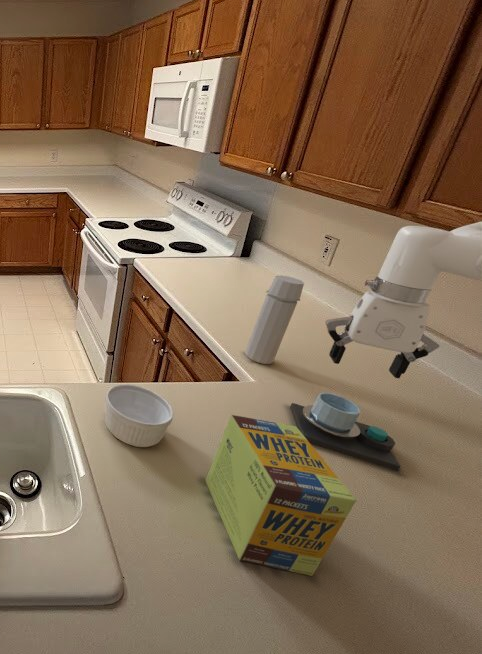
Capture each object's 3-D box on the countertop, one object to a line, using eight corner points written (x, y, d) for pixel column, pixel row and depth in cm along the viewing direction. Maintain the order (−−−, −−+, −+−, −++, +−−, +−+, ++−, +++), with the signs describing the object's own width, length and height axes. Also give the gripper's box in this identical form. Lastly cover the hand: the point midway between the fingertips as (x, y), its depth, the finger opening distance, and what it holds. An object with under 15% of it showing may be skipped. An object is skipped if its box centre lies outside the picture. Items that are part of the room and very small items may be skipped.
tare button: (381, 435, 88) (385, 429, 87) (387, 443, 85) (390, 438, 85) (364, 429, 89) (367, 424, 88) (369, 438, 86) (372, 432, 86)
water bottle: (274, 369, 115) (308, 287, 106) (242, 359, 119) (272, 279, 109) (273, 355, 122) (304, 277, 113) (242, 346, 126) (271, 270, 117)
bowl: (345, 416, 92) (354, 399, 90) (356, 436, 86) (365, 418, 84) (307, 405, 94) (314, 388, 93) (314, 423, 88) (323, 406, 87)
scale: (376, 433, 92) (382, 422, 91) (400, 472, 82) (407, 461, 80) (289, 407, 99) (294, 397, 98) (301, 440, 88) (306, 429, 87)
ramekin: (111, 401, 96) (117, 376, 93) (170, 426, 89) (179, 400, 86) (91, 432, 85) (97, 405, 83) (157, 463, 79) (166, 435, 76)
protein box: (239, 562, 61) (275, 486, 56) (203, 480, 76) (230, 412, 70) (314, 578, 60) (360, 501, 54) (264, 491, 74) (296, 423, 69)
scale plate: (351, 416, 92) (351, 415, 92) (366, 444, 84) (367, 443, 84) (298, 401, 96) (298, 399, 96) (307, 426, 88) (308, 425, 88)
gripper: (349, 287, 79) (316, 363, 85) (473, 309, 72) (427, 390, 78) (337, 276, 85) (308, 348, 91) (450, 295, 78) (410, 371, 84)
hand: (363, 367), depth 85 cm, fingers open, 9 cm apart
